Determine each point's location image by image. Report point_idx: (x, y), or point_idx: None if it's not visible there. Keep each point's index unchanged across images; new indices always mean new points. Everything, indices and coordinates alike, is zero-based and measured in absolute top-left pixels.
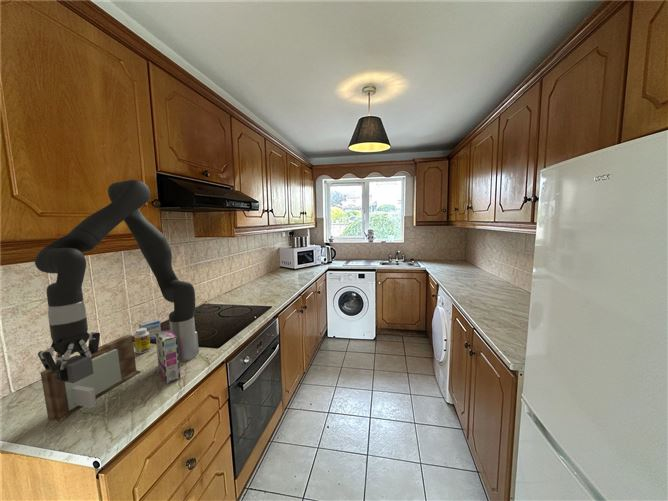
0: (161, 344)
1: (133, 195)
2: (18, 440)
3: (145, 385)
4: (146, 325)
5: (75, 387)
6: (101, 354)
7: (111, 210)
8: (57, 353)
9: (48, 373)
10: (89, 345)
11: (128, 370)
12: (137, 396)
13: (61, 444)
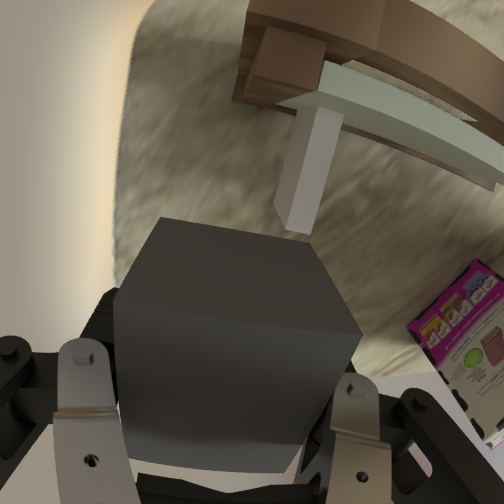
0: (488, 414)
1: None
2: (139, 58)
3: (415, 265)
4: None
5: (325, 119)
6: None
7: None
8: (63, 492)
9: (261, 18)
10: (430, 459)
11: None
12: (357, 284)
13: (132, 226)
